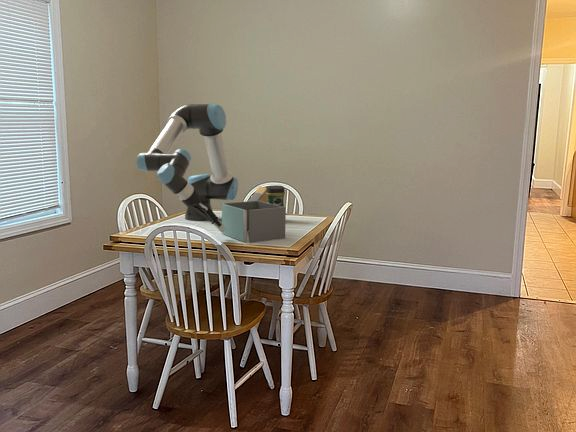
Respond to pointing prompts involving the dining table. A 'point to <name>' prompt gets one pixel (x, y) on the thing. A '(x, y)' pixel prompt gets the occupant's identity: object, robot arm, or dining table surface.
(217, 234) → the dining table surface
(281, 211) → the charcoal box
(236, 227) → the side door
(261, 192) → the sandwich container
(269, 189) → the coffee jar
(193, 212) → the robot arm
